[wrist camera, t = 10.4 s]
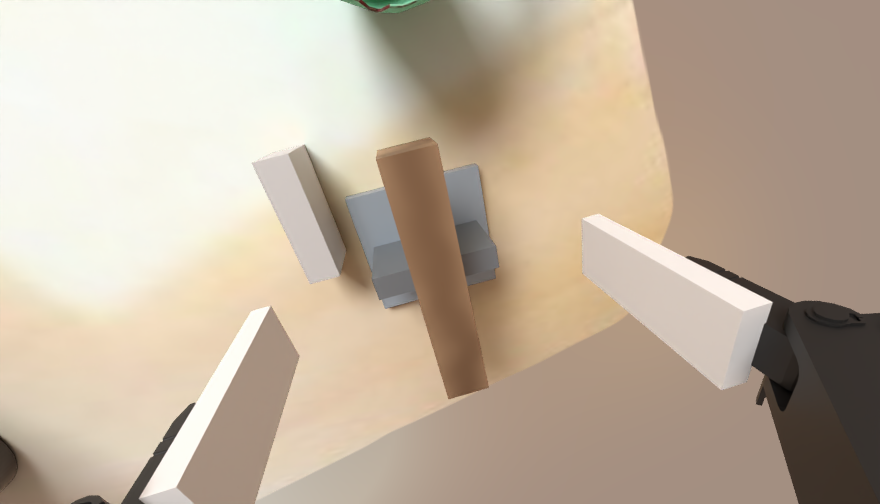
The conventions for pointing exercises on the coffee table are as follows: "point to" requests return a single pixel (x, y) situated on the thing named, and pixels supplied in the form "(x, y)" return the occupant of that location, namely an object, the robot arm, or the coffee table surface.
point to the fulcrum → (385, 242)
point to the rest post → (303, 211)
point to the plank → (434, 260)
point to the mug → (386, 5)
